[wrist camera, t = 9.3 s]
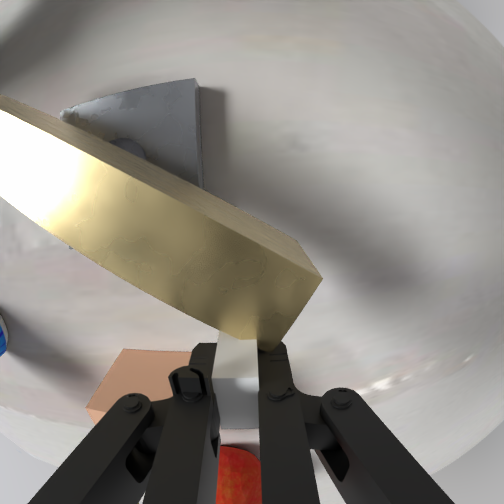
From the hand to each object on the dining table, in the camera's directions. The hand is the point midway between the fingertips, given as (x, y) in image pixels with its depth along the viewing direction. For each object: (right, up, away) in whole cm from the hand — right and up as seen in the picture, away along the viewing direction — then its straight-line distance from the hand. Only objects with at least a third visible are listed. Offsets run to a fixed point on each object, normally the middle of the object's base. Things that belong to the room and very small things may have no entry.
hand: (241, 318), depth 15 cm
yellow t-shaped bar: (-9, +10, +3) cm, 14 cm away
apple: (-2, -24, +15) cm, 29 cm away
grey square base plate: (-9, +10, +6) cm, 15 cm away
